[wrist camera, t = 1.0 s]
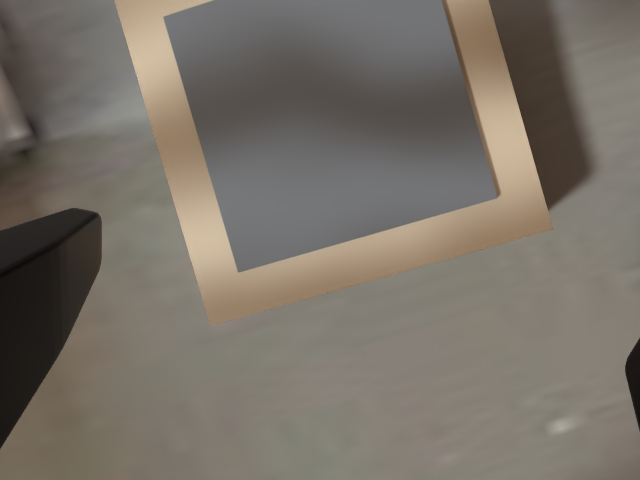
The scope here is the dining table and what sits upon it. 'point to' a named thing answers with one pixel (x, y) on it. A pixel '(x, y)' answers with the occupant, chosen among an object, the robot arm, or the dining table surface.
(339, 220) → the birch plinth
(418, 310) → the dining table surface
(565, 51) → the dining table surface
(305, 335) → the dining table surface
